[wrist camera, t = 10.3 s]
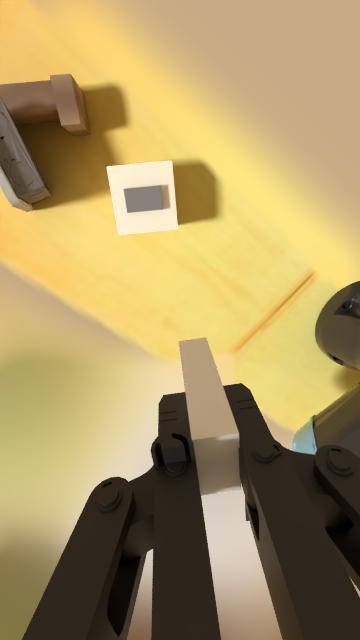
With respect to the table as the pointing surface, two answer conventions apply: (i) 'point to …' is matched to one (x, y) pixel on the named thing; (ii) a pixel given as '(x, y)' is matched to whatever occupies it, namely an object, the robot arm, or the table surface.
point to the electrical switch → (18, 166)
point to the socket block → (143, 197)
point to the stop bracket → (48, 103)
